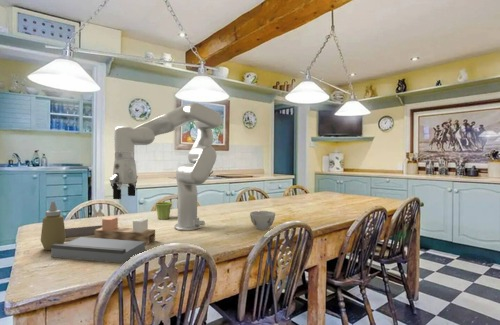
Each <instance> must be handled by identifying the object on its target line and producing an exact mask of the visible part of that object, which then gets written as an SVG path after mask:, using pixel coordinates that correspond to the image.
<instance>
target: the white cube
mask: <svg viewBox="0 0 500 325" xmlns="http://www.w3.org/2000/svg"><path fill="white" fill-rule="evenodd" d="M148 222H149V221H148V218H137V219H134V220H133V221H132V228H133V232H140V233H142V232H144V231H146V230H148V229H149V228H148V224H149V223H148Z"/></svg>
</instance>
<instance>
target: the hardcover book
mask: <svg viewBox="0 0 500 325" xmlns="http://www.w3.org/2000/svg"><path fill="white" fill-rule="evenodd" d="M99 228H102V224H100V225H90V226H82V227H81V226H79V227H69V228H65V234H66V238H65V241H64V242H69V241H72V240H75V239H77V238H80V237H88V238H95V230H96V229H99Z"/></svg>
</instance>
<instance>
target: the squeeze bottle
mask: <svg viewBox="0 0 500 325" xmlns="http://www.w3.org/2000/svg"><path fill="white" fill-rule="evenodd" d="M41 225H42V226H41V234H40V243H41V244H42V248H43V249H44V250H45V251H51V245H52V244H64V243H65V242H66V241H65V238H66V234H65V229H66V227H65V219H64V216H63V215H61V210H60V209H58V208H57V204H56V201H51V202H50V206H49V210H47V211H45V216H44V217H43V218H42V224H41Z"/></svg>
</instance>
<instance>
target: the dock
mask: <svg viewBox="0 0 500 325" xmlns="http://www.w3.org/2000/svg"><path fill="white" fill-rule="evenodd" d="M145 250H146V245H145V242H143V241H129V240H115V239H101V238H88V237H80V238H77V239H75V240H71V241H66V242H64V244H52V245H51V250H50V254H51V257H52V258H61V259H73V260H82V261H83V260H84V261H85V260H86V261H94V260H95V261H97V262H106V261H108V263H117V262H120V263H119V264H123V263H126V262H127V261H128V259H129V258H130V257H132V256H133V255H135V254H137V255H138V254H140V253H141V252H143V251H145ZM135 256H136V255H135ZM133 257H134V256H133ZM133 257H132V258H133ZM130 259H131V258H130ZM130 259H129V260H130Z"/></svg>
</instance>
